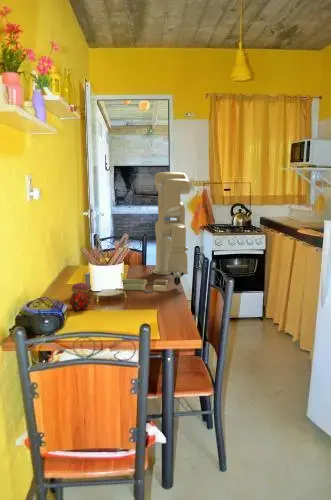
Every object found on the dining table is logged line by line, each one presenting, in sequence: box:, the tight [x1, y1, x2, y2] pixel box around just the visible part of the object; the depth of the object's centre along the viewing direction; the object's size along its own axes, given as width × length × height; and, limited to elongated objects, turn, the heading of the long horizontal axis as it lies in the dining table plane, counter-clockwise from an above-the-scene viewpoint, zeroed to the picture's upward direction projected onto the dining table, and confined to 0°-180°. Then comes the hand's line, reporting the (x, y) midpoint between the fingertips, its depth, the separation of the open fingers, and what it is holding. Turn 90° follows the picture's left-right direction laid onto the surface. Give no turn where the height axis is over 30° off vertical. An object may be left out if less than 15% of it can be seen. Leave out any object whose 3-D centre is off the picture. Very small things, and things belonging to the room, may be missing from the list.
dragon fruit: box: [69, 291, 92, 312], centre depth 178 cm, size 8×8×12 cm
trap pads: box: [143, 281, 155, 294], centre depth 218 cm, size 21×4×1 cm, turn 177°
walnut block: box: [154, 278, 166, 286], centre depth 217 cm, size 5×5×4 cm
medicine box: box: [84, 272, 91, 290], centre depth 208 cm, size 8×4×9 cm, turn 84°
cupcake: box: [71, 272, 91, 294], centre depth 194 cm, size 9×8×12 cm
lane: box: [122, 278, 169, 292], centre depth 217 cm, size 12×25×2 cm, turn 87°
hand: (177, 284), depth 216 cm, fingers closed
